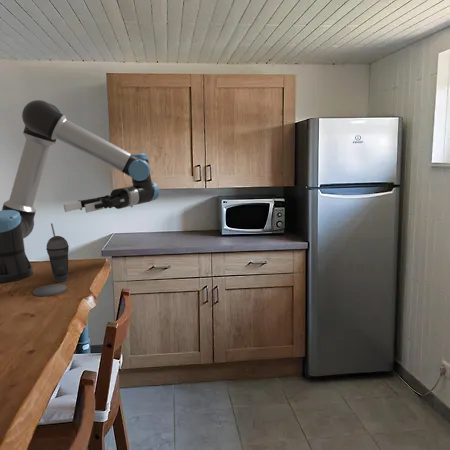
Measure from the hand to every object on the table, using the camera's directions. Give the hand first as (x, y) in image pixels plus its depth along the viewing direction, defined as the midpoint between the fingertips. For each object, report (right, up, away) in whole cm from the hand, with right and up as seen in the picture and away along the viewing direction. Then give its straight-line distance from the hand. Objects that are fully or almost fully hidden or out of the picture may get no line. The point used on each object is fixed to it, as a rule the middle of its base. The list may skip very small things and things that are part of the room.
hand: (74, 208), depth 158 cm
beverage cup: (-4, -25, -2) cm, 25 cm away
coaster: (-3, -27, -13) cm, 30 cm away
